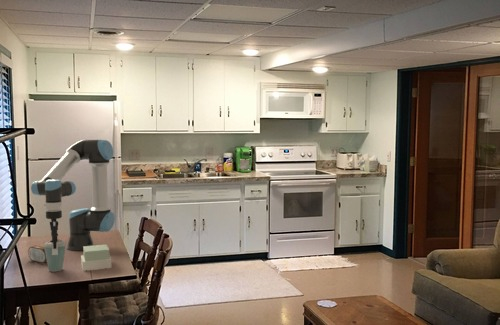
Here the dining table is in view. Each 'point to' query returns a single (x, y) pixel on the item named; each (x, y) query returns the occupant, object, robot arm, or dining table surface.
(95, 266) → the base block
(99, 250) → the top block
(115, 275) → the dining table surface
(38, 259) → the tin
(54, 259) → the disposable coffee cup
